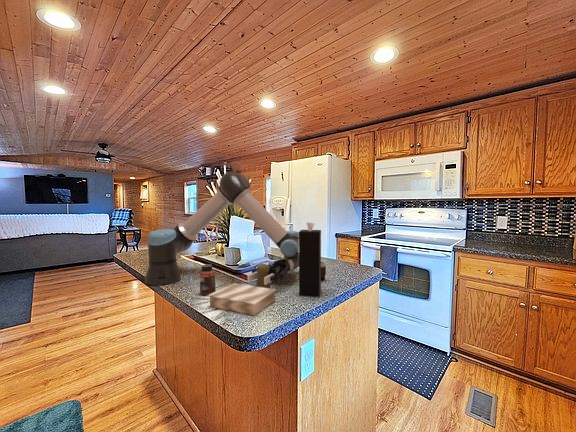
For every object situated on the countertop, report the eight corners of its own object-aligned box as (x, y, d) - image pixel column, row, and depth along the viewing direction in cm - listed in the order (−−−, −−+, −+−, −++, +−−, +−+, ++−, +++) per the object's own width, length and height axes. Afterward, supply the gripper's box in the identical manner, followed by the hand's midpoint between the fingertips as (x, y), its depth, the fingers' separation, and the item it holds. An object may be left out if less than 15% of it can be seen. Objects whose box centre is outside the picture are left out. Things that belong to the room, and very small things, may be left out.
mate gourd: (326, 277, 125) (326, 246, 124) (325, 282, 117) (325, 249, 117) (310, 277, 127) (310, 246, 126) (308, 282, 119) (308, 249, 118)
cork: (270, 293, 104) (270, 266, 103) (255, 294, 103) (255, 266, 103) (270, 288, 110) (270, 262, 109) (256, 289, 109) (255, 263, 109)
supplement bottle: (216, 290, 108) (215, 263, 108) (214, 295, 102) (214, 266, 102) (201, 291, 107) (200, 263, 107) (198, 296, 101) (198, 267, 101)
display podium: (207, 306, 91) (207, 295, 91) (234, 293, 105) (234, 283, 105) (254, 316, 83) (254, 303, 83) (276, 300, 97) (276, 289, 97)
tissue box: (319, 297, 100) (319, 223, 98) (298, 295, 101) (298, 223, 100) (321, 290, 107) (321, 221, 106) (301, 289, 109) (301, 221, 108)
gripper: (302, 277, 119) (279, 293, 98) (264, 272, 127) (235, 286, 106) (302, 260, 118) (279, 273, 97) (264, 257, 127) (235, 267, 106)
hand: (256, 280), depth 102 cm, fingers open, 7 cm apart
